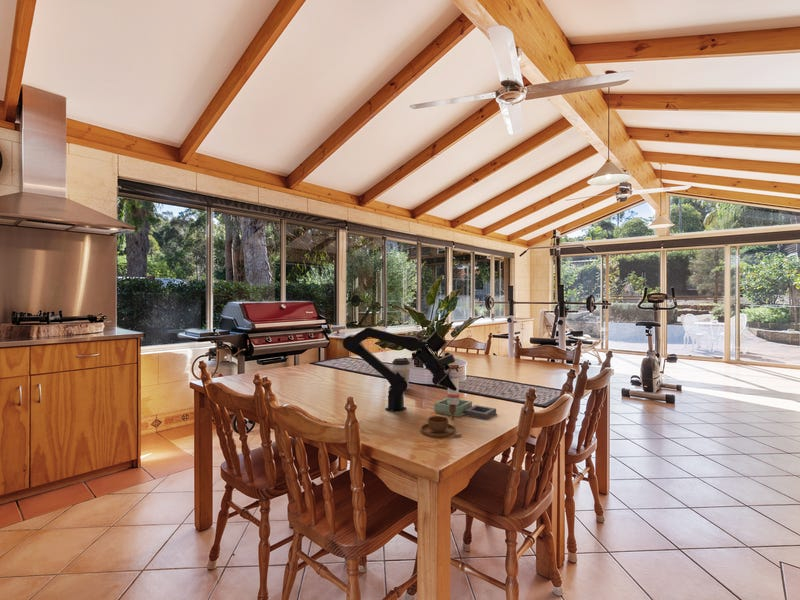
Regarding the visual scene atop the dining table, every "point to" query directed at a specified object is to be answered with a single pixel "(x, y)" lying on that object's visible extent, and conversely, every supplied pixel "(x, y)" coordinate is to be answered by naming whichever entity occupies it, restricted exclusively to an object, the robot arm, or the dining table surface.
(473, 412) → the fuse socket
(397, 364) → the coffee cup
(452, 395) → the fuse
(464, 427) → the dining table surface
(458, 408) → the parts tray
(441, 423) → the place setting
